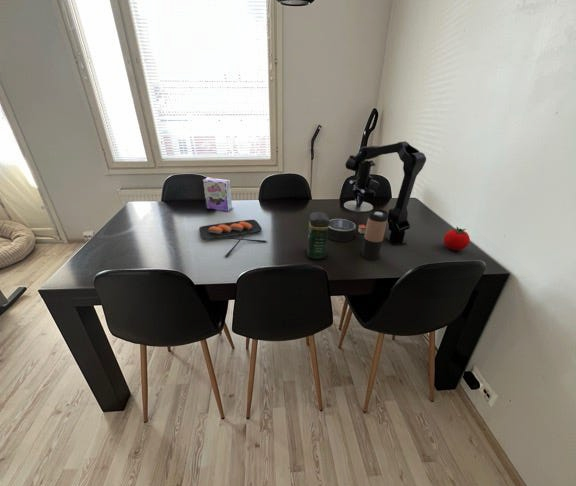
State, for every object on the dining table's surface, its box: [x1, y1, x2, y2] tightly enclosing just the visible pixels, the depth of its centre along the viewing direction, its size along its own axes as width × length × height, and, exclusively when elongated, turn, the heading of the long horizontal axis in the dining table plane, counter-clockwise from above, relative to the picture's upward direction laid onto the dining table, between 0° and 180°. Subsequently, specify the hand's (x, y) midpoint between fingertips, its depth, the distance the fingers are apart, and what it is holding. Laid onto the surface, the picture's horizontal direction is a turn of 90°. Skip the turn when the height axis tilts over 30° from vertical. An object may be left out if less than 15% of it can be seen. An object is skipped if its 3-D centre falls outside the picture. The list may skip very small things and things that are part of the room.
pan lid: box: [343, 197, 374, 213], centre depth 150 cm, size 15×15×6 cm
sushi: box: [357, 223, 367, 235], centre depth 146 cm, size 7×4×3 cm, turn 102°
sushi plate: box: [198, 219, 267, 258], centre depth 136 cm, size 29×30×4 cm
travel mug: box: [361, 208, 389, 260], centre depth 122 cm, size 8×8×20 cm
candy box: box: [202, 176, 233, 212], centre depth 163 cm, size 14×6×16 cm, turn 73°
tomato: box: [443, 226, 471, 251], centre depth 132 cm, size 10×10×10 cm
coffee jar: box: [306, 211, 330, 260], centre depth 122 cm, size 10×8×19 cm
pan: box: [327, 218, 357, 242], centre depth 142 cm, size 14×14×6 cm
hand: (358, 204), depth 151 cm, fingers closed on pan lid, 2 cm apart
